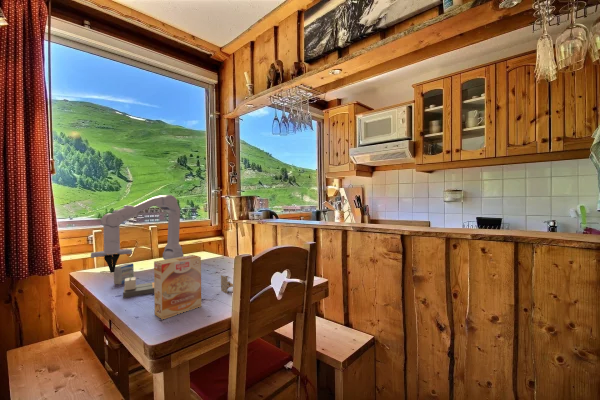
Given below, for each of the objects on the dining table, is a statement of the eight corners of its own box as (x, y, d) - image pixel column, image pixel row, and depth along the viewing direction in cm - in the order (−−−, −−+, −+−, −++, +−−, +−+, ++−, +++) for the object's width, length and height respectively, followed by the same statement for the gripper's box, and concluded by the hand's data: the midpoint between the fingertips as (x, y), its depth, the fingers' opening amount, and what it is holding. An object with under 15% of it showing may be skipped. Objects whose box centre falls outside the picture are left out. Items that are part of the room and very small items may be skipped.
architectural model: (227, 289, 125) (227, 273, 125) (235, 293, 120) (235, 276, 120) (220, 291, 122) (220, 275, 122) (228, 295, 117) (228, 278, 117)
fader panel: (161, 285, 131) (161, 280, 131) (162, 291, 122) (162, 286, 122) (124, 290, 123) (124, 286, 123) (123, 297, 115) (123, 292, 115)
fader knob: (135, 285, 124) (135, 276, 124) (135, 288, 119) (135, 279, 119) (125, 287, 122) (125, 278, 122) (124, 290, 117) (124, 281, 117)
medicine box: (121, 284, 132) (120, 267, 132) (113, 284, 133) (113, 266, 133) (134, 280, 140) (133, 263, 140) (126, 279, 141) (126, 263, 141)
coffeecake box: (162, 320, 93) (161, 264, 93) (153, 314, 98) (152, 261, 98) (202, 306, 104) (201, 256, 104) (193, 302, 109) (192, 254, 109)
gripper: (89, 243, 110) (89, 277, 110) (131, 240, 117) (131, 271, 117) (92, 241, 116) (92, 273, 116) (131, 238, 123) (132, 268, 123)
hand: (112, 272), depth 117 cm, fingers closed
